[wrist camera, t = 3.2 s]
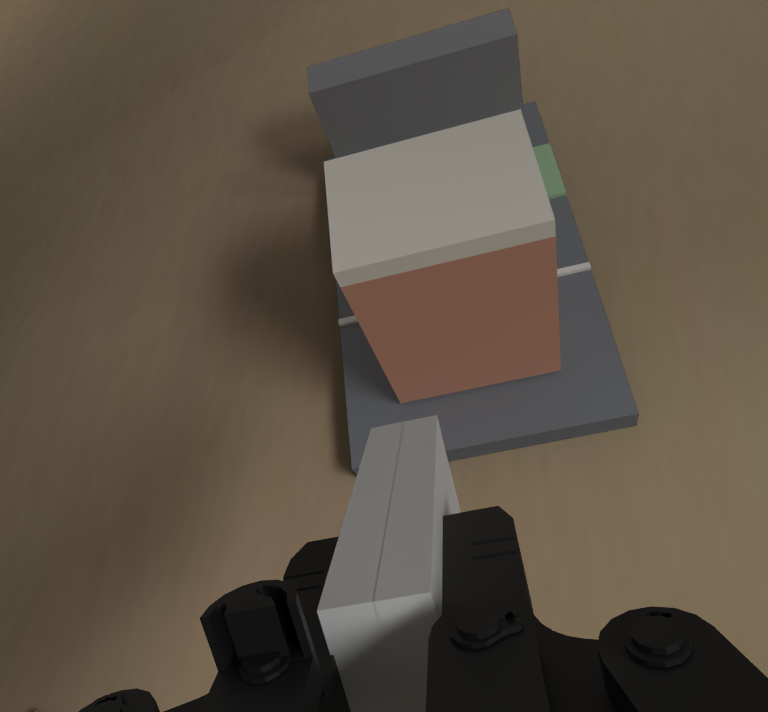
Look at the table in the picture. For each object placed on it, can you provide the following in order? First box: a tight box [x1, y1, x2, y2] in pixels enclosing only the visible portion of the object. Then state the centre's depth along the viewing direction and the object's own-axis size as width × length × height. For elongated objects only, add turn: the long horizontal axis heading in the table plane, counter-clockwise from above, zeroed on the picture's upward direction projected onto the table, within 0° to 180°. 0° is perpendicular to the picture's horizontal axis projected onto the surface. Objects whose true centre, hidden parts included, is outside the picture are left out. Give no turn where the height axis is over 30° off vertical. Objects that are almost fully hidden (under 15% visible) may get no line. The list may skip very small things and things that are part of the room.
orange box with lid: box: [324, 109, 561, 403], centre depth 26 cm, size 7×5×10 cm
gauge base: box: [307, 9, 639, 475], centre depth 31 cm, size 12×19×7 cm, turn 6°
